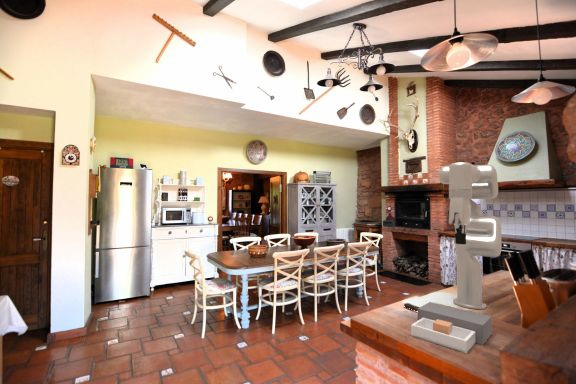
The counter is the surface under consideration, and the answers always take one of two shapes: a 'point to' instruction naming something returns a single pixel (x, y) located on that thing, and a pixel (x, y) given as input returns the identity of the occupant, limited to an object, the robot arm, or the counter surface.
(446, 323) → the terracotta tile
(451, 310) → the block
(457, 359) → the counter surface
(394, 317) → the counter surface
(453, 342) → the box
